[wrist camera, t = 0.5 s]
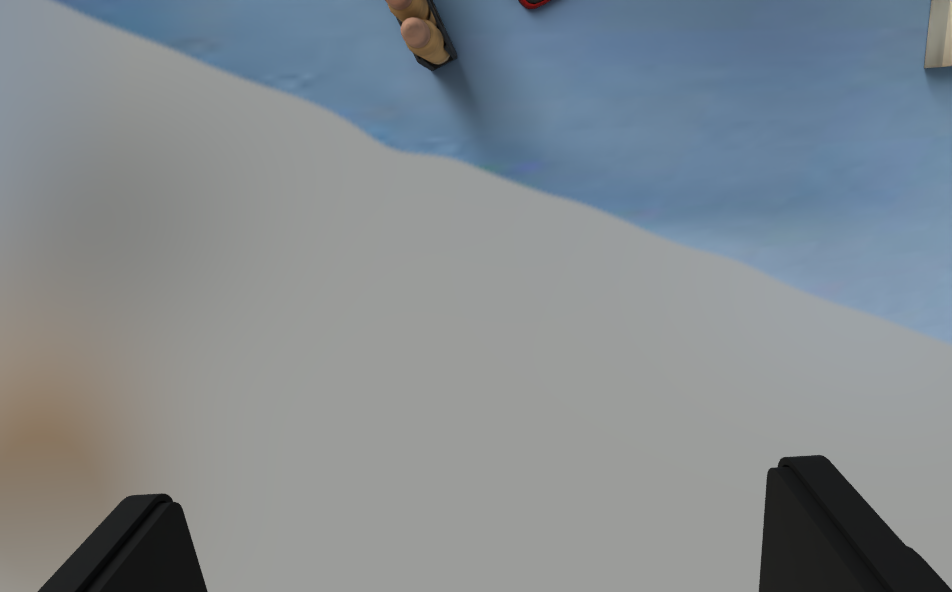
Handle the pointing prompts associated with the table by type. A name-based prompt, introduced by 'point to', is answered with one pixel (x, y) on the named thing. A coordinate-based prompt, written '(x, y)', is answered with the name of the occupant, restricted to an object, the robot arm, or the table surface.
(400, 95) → the table surface
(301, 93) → the table surface
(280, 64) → the table surface
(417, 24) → the ammunition clip
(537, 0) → the cell phone
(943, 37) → the hole plate
